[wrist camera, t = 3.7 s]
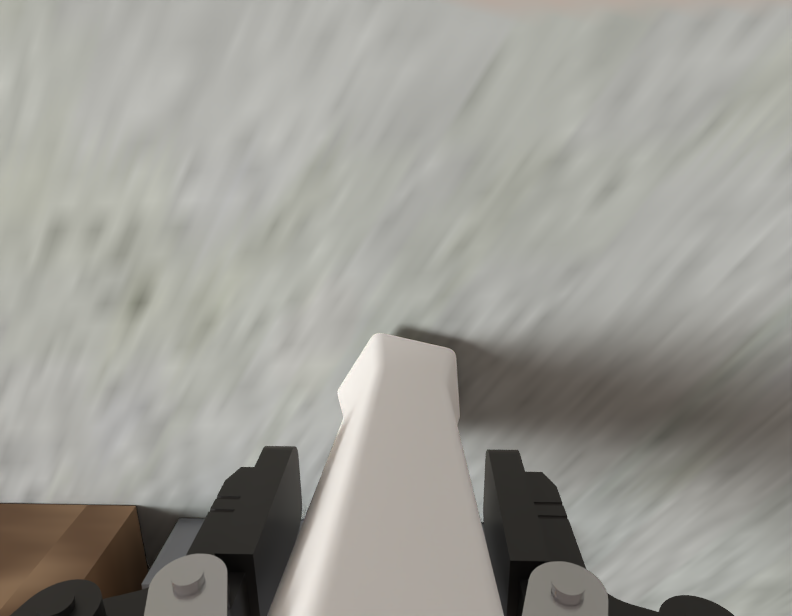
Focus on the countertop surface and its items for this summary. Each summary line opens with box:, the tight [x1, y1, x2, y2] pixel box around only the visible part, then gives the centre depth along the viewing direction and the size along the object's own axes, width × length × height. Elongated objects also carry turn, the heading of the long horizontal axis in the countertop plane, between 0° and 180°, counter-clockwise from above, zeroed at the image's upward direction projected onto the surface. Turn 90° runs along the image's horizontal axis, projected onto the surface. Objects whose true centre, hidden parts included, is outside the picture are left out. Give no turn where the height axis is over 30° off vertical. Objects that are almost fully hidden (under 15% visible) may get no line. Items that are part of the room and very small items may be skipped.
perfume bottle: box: [267, 333, 504, 616], centre depth 11 cm, size 5×4×15 cm
